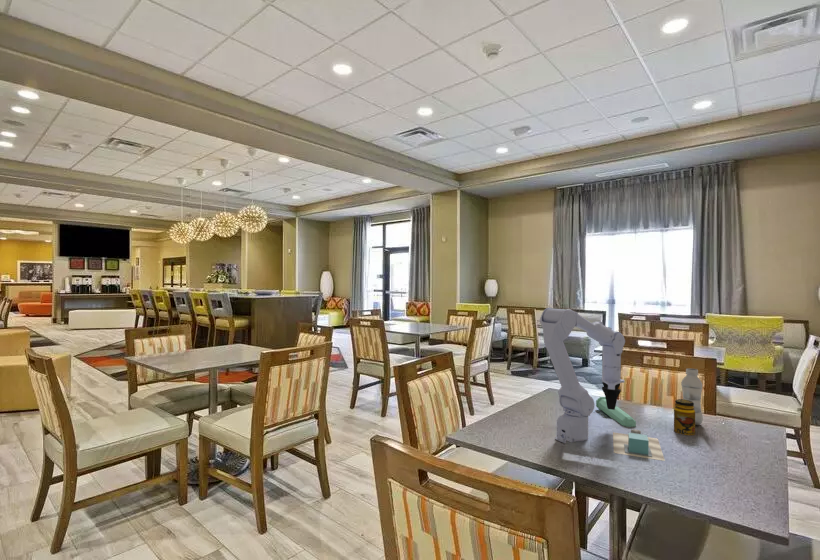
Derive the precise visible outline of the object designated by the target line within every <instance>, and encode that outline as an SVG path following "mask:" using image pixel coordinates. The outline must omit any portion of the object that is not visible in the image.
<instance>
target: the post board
mask: <svg viewBox="0 0 820 560" xmlns="http://www.w3.org/2000/svg"><path fill="white" fill-rule="evenodd" d="M630 433H635V434H642V431H641V430H640V429H634V428H633V429H630ZM647 437H648V441H649V450H648V454H641V453H635V452H629V448H628V433H620V432H614V431H613V432H612V445H613V454H619V455H624V456H632V457H637V458H642V459H643V458H644V459H649V460H656V461H664V462H665V461H666V459H665V457H664V454H663V451H662V448H661V444H660V441H659V439H658V438H656V437H650V436H647Z"/></svg>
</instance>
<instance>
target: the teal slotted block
mask: <svg viewBox="0 0 820 560" xmlns="http://www.w3.org/2000/svg"><path fill="white" fill-rule="evenodd" d="M627 434H628V448H629V452H635V453H641V454H648V450H649V441H648V437H649V436H648V435H647V434H642V433H641V434H635V433H631V432H628V433H627Z"/></svg>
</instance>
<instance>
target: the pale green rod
mask: <svg viewBox="0 0 820 560" xmlns="http://www.w3.org/2000/svg"><path fill="white" fill-rule="evenodd" d="M595 406H596V408H597V409H598V410H599V411H602V412H603V413H604V414H606V415H607V417H609V418H611V419H612V420H615V422H617V423H619V424H620V425H621V426H623V427H630V428H633V427H635V428H636V427H637V423H636V420H635V419H634V418H633V417H632V416H631V415H630V414H628V413H627V412H626V411H624V410H622V408H620V407H618V406H617V405H616V407H615V410H612V409H608V408H607V403H606V397H605V396H599V397H598V398H597V399H596V401H595Z"/></svg>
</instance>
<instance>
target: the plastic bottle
mask: <svg viewBox="0 0 820 560" xmlns="http://www.w3.org/2000/svg"><path fill="white" fill-rule="evenodd" d="M684 376H685V377H684V378H682V380H681V390H682V399H685V400H690V401H692V402H693V403H694V410H695V426H700V425H702V423H703V422H704V421H703V420H704V419H703V418H704V416H703V414H702V405H701V403H702V402H701V399H702V392H703V386H704V385H703V383H702V381H701V379H700V378H699V370H698V368H686V369H685V375H684Z"/></svg>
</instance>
